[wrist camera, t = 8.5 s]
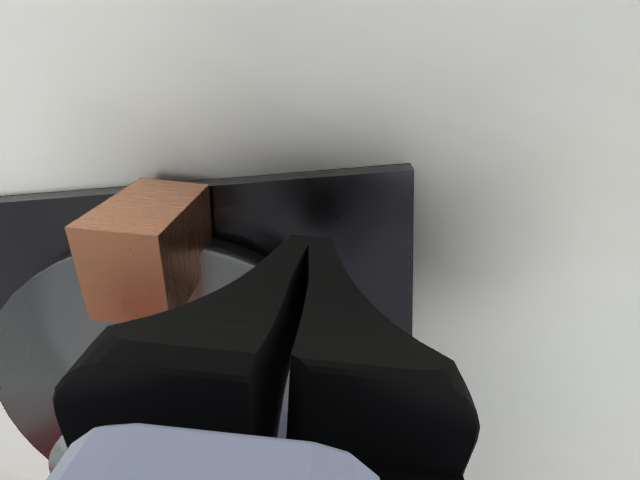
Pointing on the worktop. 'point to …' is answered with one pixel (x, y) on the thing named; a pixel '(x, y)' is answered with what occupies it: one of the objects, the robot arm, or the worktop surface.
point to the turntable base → (254, 225)
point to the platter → (110, 291)
